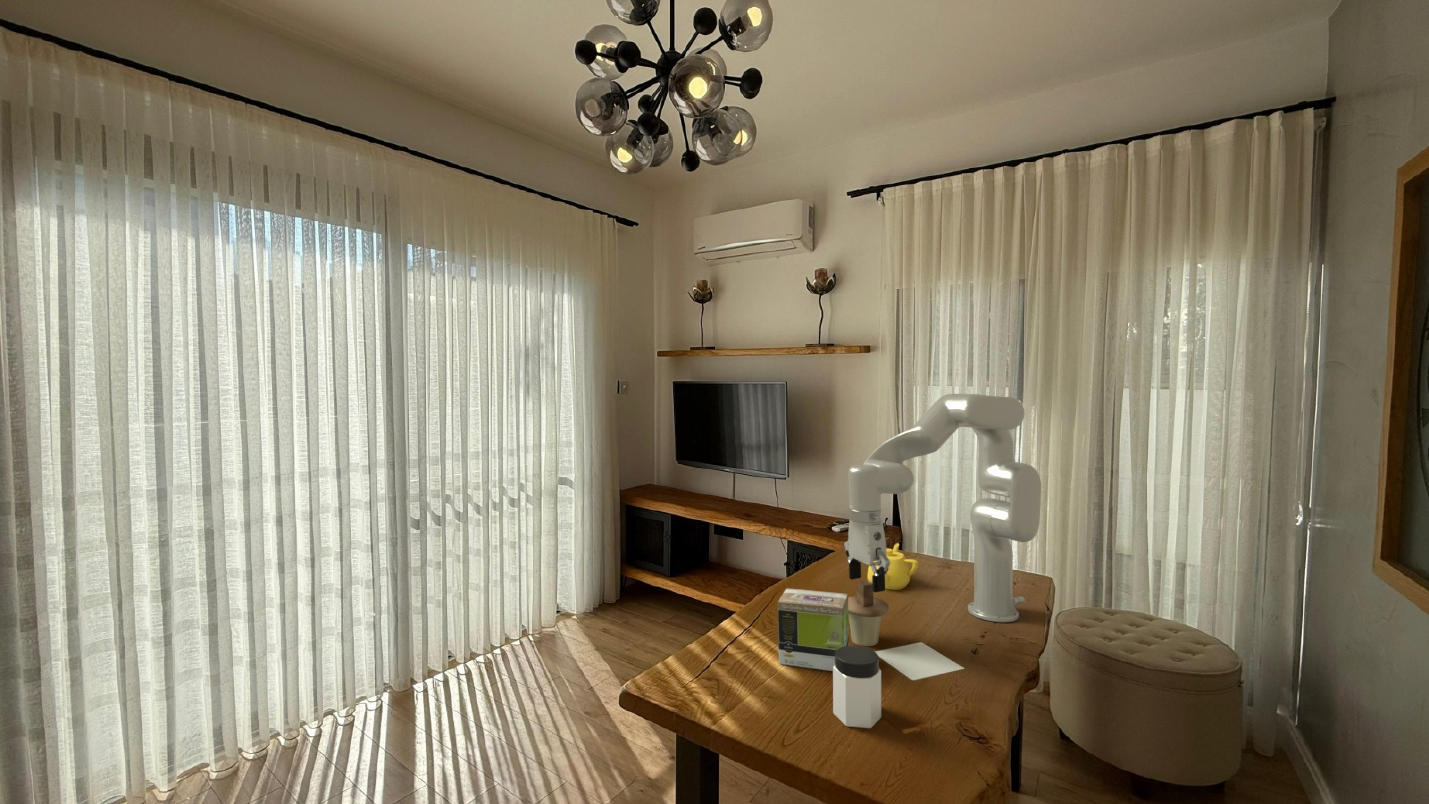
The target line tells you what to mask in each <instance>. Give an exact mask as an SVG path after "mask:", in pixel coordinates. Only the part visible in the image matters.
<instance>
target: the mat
mask: <svg viewBox="0 0 1429 804" xmlns="http://www.w3.org/2000/svg"><path fill="white" fill-rule="evenodd" d="M875 652H876V653H877V655H878V657H879V658H880V659H882V660H883V661H884V662H886V663H887V664H889V665H890V666H892V668H895V669H896V670H897V671H898V672H900V673H901V674H902V675H904V676H905V677H907V678H908V679H909V680H911V681H918V680H922V679H926V678H930V677H935V676H939V675H943V674H947V673H951V672H956V671H960V670H965V667H963V666H961V665H960V664H958V663H957V662H955V661H952V659H950V658H949V657H946V656H945V655H943V654H941V653H940V652H938V651H936V650H935V649H933V648H932V647H930V646H928V645H926V644H925V643H923V642H922V641H919V642H915V643H911V644H910V643H909V644H906V645H905V644H904V645H901V646H896V647H891V648H886V649H881V650H877V651H876V650H875Z"/></svg>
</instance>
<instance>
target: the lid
mask: <svg viewBox="0 0 1429 804" xmlns="http://www.w3.org/2000/svg"><path fill="white" fill-rule="evenodd" d="M889 607H890V606H889V604H888V602H886V601H885V600H883V599H881V598H877V597H874V592H873V587H872V583H870V582H869V581H868V580H863V581H862V580H861V581H860V580H859V581H856V595H853V596H852V595H851V596H848V613H850V614H853V615H857V616H862V617H879V616H885V615H887V614H888V613H889Z"/></svg>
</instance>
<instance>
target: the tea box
mask: <svg viewBox="0 0 1429 804" xmlns="http://www.w3.org/2000/svg"><path fill="white" fill-rule="evenodd" d="M782 593H783V594H781V596H780V598H779V599H778V601H777V633H778V634H777V635H778V637H777V639H778V640H777V641H778V643H777V645H778V647H777V648H778V663H779V665H786V666H787V665H788V666H794V667H799V668H807V669H815V670H822V671H828V672H829V671H830V672H833V666H834V665H835V652H836V650H837V649H839V648H841V647H843V646H849V645H850V631H849V630H850V622H849V616H848V597H849V594H848V593H844V592H843V593H842V592H831V591H821V590H820V591H819V590H810V589H798V588H788V587H787V588H785V590H784V591H783V592H782Z"/></svg>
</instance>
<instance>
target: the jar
mask: <svg viewBox="0 0 1429 804" xmlns="http://www.w3.org/2000/svg"><path fill="white" fill-rule="evenodd" d="M879 658H880V657H879V656H878V655H877V653H876V650H873V649H871V648H869V647H867V646H862V645H857V644H855V645H853V644H852V645H851V644H849V646H843V647H841V648H839V649H837V650H836V652H835V665H834V666H833V670H832V689H833V690H832V713H833V715H834V716H835V717H836V718H838V720H840V722H841V723H842V724H843V725H844V726H846V727H851V728H852V727H853V728H862V729H872V728H873V726H874V725H876V723H877V722H878V721H879V720H880V719H881V718H882V670H881V669H880V665H879V664H880V663H879V662H880V660H879Z"/></svg>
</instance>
